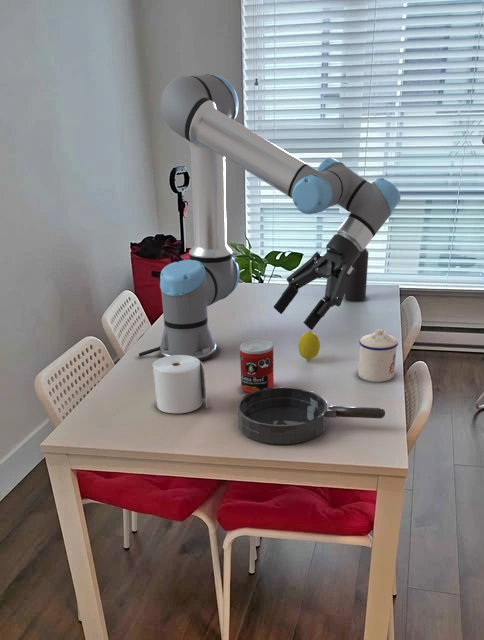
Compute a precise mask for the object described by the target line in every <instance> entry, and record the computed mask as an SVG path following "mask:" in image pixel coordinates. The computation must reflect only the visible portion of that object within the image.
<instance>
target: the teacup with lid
mask: <svg viewBox="0 0 484 640" xmlns="http://www.w3.org/2000/svg"><path fill="white" fill-rule="evenodd" d="M358 343H359V357H358V358H359V359H358V373H357V374H358V376H359V378H361V379H362V380H364V381H369V382H373V383H381V382H382V383H383V382H387V381H389V380H392V379H393V378H394V376H395V366H396V357H397V346H398V345H399V343H398V340H397V338H396V337H395V336H393V335H390V334H387V333H386V332H385V331H384V329H382V328H377V329H375V330H374V332H372V333H369V334H365V335H363V336H361V338H360V340H359V342H358Z"/></svg>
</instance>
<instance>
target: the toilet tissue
mask: <svg viewBox="0 0 484 640" xmlns="http://www.w3.org/2000/svg"><path fill="white" fill-rule="evenodd" d="M152 373H153V383H154V392H155V400H156V401H155V402H156V407H157V408H158V410H159V411H162V412H163V413H168V414H185V413H191V412H193V411H196V410H198V409H199V408H200V407H202V405H203V402H204V403H205V406H206V407H208V401H207V388H206V373H205V366H204V363H203V361H200V360H198V359H197V358H195V357H192V356H188V355H172V356H167V357H163V358H162V357H159V358H158V359H156V360H154V362H153V363H152Z"/></svg>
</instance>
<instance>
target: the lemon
mask: <svg viewBox="0 0 484 640" xmlns="http://www.w3.org/2000/svg"><path fill="white" fill-rule="evenodd" d="M298 340H299V341H298V346H297V349H298V352H299V354H300V355H299V356H301V357H302V358H303V359H305V360H306V361H307V362H311V360H312V359H314V358H316V357H317V356H318V354H319V352H320V348H321V344H320V343H321V342H320V338H319V336H318V335H317V334H316V333H315V332H312V330H308V331H306V332H304V333H303V334H301V336H300V337H299V339H298Z"/></svg>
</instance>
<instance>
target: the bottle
mask: <svg viewBox="0 0 484 640" xmlns="http://www.w3.org/2000/svg"><path fill="white" fill-rule="evenodd" d="M352 267H353V268H354V270H355V272H354V273H353V275H352V276H351V278H350V280H349V283H348V286H347V289H346V292H345V294H344V300H346V301H348V302H362V301H364V300H366V297H367V282H368V267H369V250H368V249H367V247H365V249H364V250H363V251H362V252H360V256H359V257H358V258H357V260H356V261H355V262H354V264H353V265H352Z"/></svg>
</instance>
